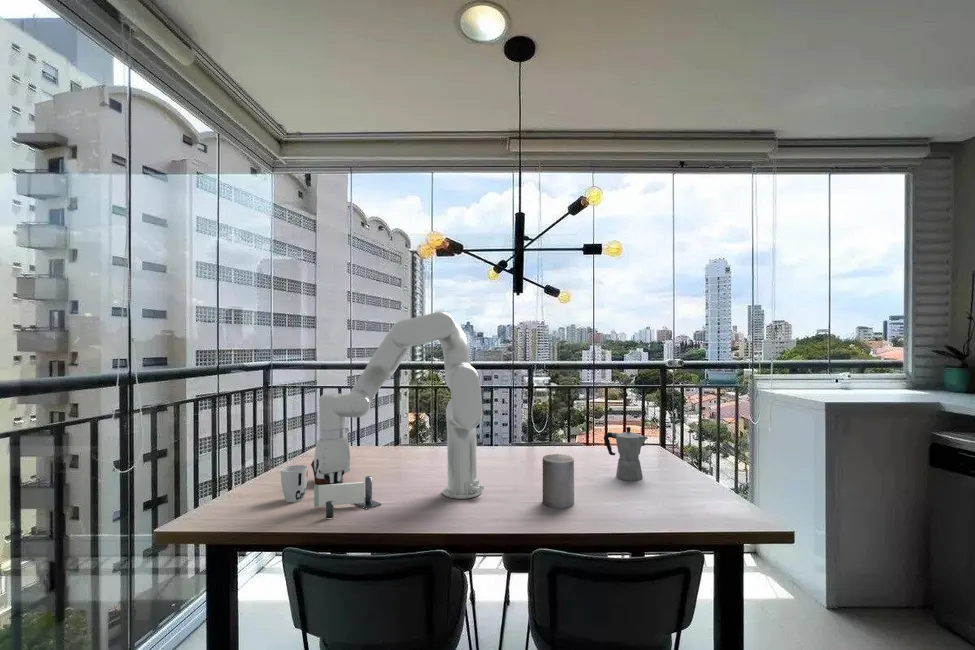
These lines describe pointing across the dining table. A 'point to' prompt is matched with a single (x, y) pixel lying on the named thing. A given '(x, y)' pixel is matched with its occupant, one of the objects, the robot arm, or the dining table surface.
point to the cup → (294, 482)
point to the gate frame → (367, 503)
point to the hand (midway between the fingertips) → (333, 494)
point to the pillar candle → (558, 481)
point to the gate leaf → (339, 493)
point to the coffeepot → (627, 454)
